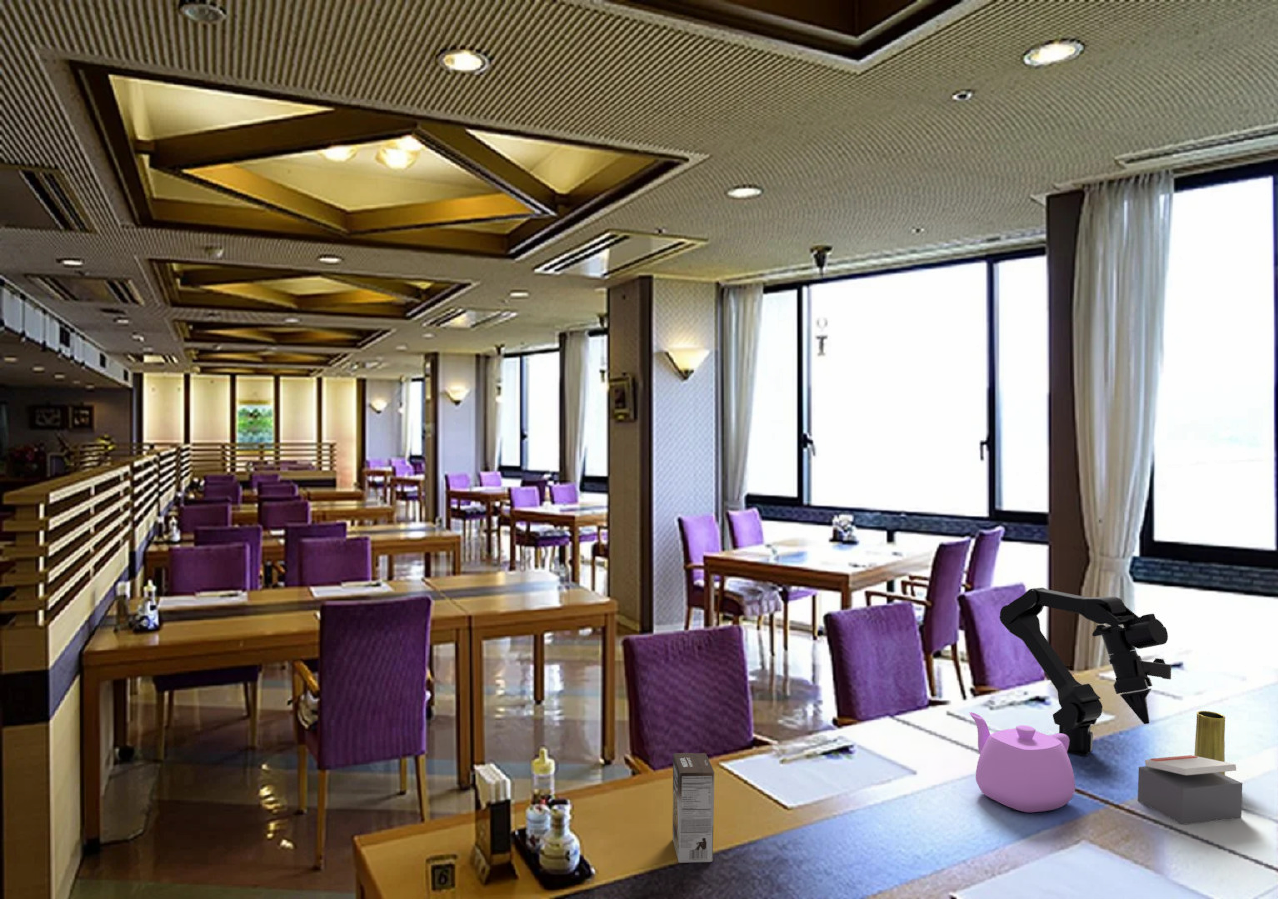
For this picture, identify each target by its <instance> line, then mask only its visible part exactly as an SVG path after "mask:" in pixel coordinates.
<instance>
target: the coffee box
mask: <svg viewBox="0 0 1278 899" xmlns="http://www.w3.org/2000/svg"><path fill="white" fill-rule="evenodd" d="M714 812H715V771H714V768H713V766H712V764H711V761H710V759H709V757H708V755H707V753H706V752H702V753H700V752H699V753H696V752H695V753H694V752H677V753H676V752H675V753H673V754H672V841H673V847H674V850H675V854H676V858H677V863H680V864H681V863H682V864H683V863H684V864H685V863H712V862H713V859H714V820H715V818H714V817H715V813H714Z"/></svg>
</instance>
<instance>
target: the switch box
mask: <svg viewBox="0 0 1278 899" xmlns="http://www.w3.org/2000/svg"><path fill="white" fill-rule="evenodd" d="M1137 781H1138V782H1137V801H1138V802H1139V803H1141V804H1143V805H1146V807H1148V808H1151V809H1153V810H1154V811H1156V812H1158V813H1160V814H1162V815H1163V816H1166V817H1167V818H1169V819H1171V820H1172V821H1175V822H1177V823H1179V825H1191V824H1199V823H1209V822H1219V821H1227V820H1236V819H1237V820H1238V819H1242V810H1243V809H1242V807H1243V806H1242V805H1243V782H1241V781H1238V780H1236V779H1234V778H1233V777H1230V776H1227V775H1226V774H1225V775H1223V774H1221V773H1219V772H1216V773H1205V774H1194V775H1182V774H1178V773H1174V772H1169V771H1165V770H1161V769H1157V768H1152V767H1148V766H1146V765H1145V766H1144V765H1143V766H1138V780H1137Z"/></svg>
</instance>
